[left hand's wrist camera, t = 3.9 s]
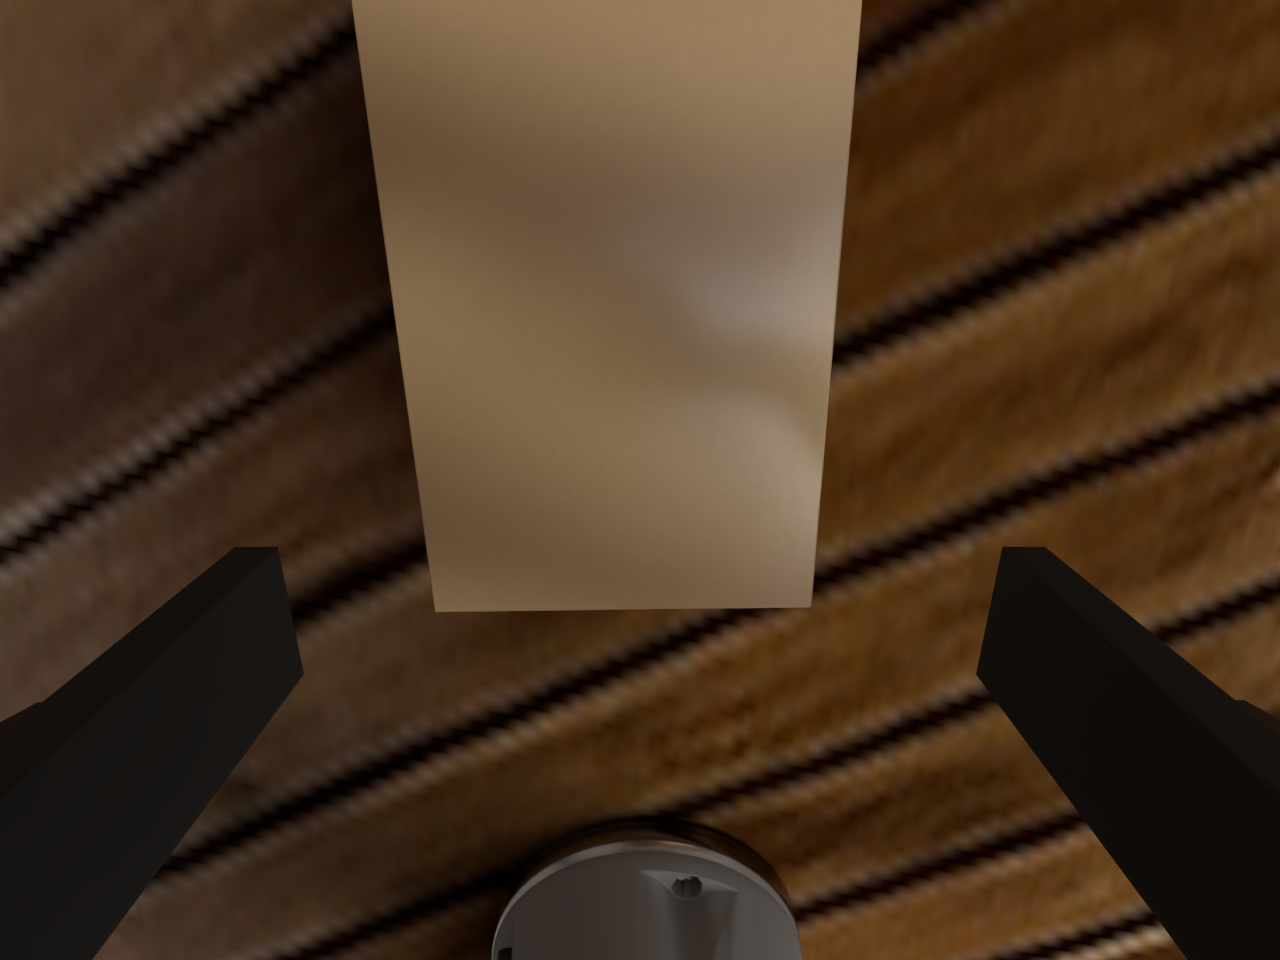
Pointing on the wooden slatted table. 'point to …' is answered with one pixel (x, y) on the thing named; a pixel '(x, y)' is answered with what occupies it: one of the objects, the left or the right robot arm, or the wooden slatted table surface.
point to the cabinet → (614, 289)
